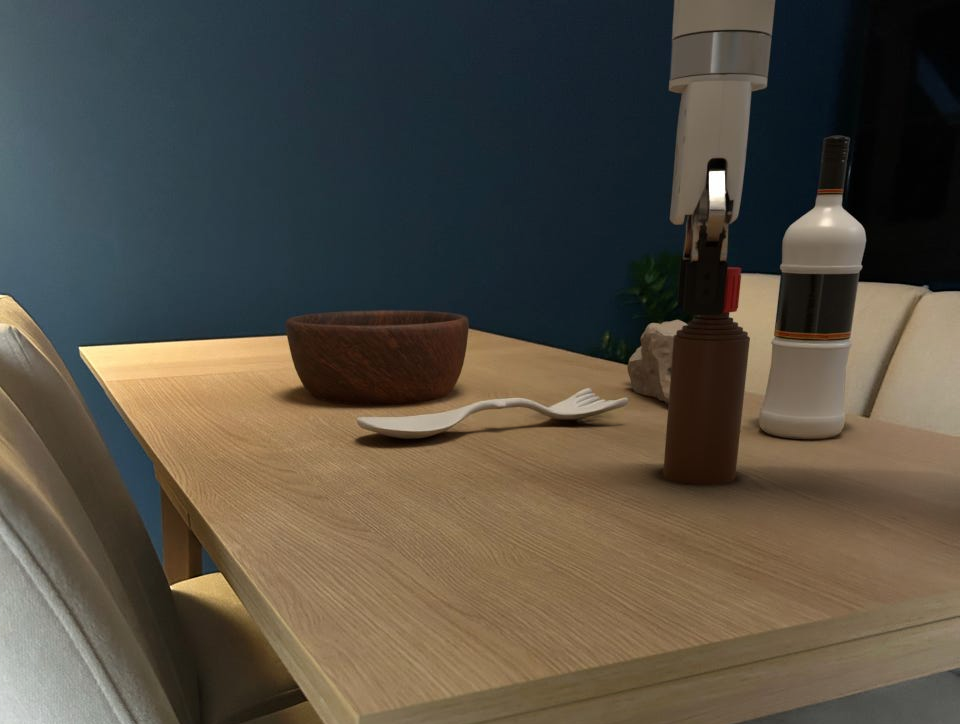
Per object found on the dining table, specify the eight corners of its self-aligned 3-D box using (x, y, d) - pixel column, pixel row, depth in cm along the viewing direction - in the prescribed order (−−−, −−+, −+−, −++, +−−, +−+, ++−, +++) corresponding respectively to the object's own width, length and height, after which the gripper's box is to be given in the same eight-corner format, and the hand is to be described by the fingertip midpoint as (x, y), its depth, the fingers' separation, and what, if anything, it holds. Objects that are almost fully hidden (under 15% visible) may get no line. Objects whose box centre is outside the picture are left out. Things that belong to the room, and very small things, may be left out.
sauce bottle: (730, 477, 91) (751, 273, 84) (737, 495, 85) (761, 277, 78) (661, 475, 91) (676, 273, 84) (663, 492, 86) (680, 277, 79)
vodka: (760, 439, 107) (793, 133, 95) (755, 423, 115) (786, 140, 103) (848, 442, 105) (893, 131, 93) (837, 426, 113) (877, 138, 102)
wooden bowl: (322, 379, 150) (317, 309, 146) (482, 382, 146) (482, 310, 142) (264, 407, 127) (257, 325, 123) (451, 411, 123) (450, 327, 119)
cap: (693, 312, 81) (697, 268, 79) (688, 308, 84) (691, 266, 83) (741, 312, 80) (745, 269, 79) (733, 308, 84) (737, 266, 82)
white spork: (629, 424, 115) (630, 395, 113) (374, 450, 102) (373, 417, 101) (588, 412, 122) (589, 384, 121) (347, 435, 109) (345, 404, 108)
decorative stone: (727, 409, 124) (735, 328, 120) (672, 412, 122) (678, 329, 118) (666, 386, 142) (671, 314, 138) (617, 388, 140) (621, 316, 136)
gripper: (663, 83, 84) (650, 303, 91) (677, 50, 68) (660, 320, 75) (752, 81, 83) (731, 304, 90) (787, 48, 67) (759, 321, 74)
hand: (699, 309), depth 82 cm, fingers open, 6 cm apart
